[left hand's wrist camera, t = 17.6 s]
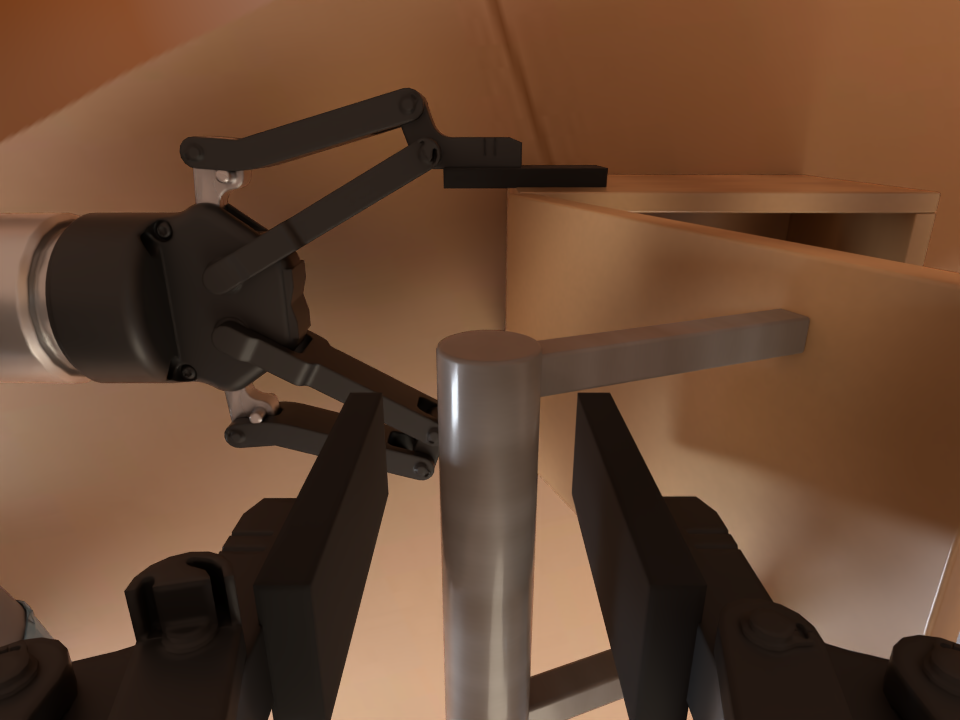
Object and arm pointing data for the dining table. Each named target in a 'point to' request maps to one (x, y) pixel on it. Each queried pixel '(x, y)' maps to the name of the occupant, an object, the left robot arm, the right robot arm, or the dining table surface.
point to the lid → (702, 431)
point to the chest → (776, 209)
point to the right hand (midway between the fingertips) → (593, 298)
